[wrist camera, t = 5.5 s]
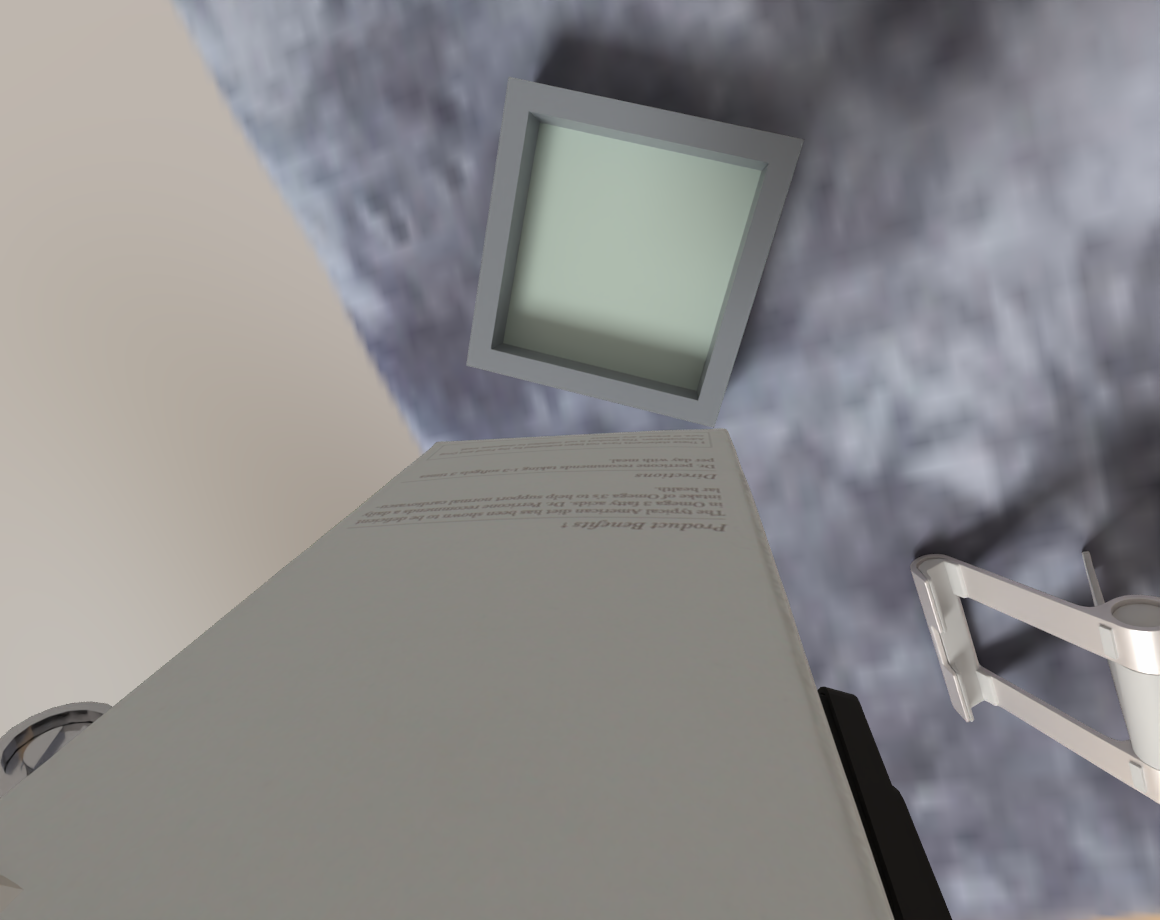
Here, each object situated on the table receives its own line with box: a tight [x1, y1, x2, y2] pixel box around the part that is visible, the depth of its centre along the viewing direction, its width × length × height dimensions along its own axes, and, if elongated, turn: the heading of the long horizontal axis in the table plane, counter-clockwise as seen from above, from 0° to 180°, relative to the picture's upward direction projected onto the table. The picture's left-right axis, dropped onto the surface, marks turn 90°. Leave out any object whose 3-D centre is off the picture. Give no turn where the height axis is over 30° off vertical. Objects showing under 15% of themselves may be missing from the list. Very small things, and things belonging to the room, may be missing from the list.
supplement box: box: [0, 428, 894, 920], centre depth 9 cm, size 7×7×13 cm
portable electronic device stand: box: [910, 551, 1160, 804], centre depth 25 cm, size 9×8×8 cm
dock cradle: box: [466, 77, 804, 427], centre depth 25 cm, size 12×12×3 cm
